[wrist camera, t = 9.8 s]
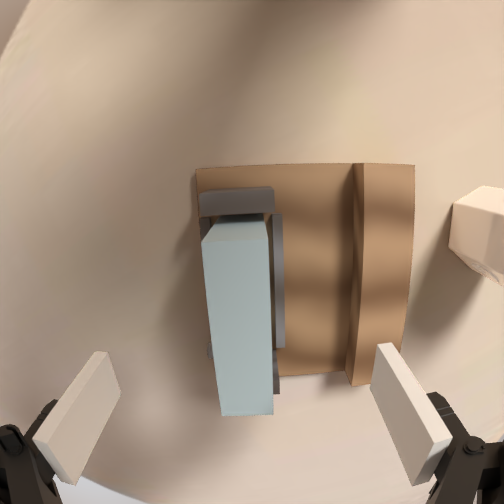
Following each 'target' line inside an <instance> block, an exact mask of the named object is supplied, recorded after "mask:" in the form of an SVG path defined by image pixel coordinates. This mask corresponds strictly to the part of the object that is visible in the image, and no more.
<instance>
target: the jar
mask: <svg viewBox="0 0 504 504" xmlns="http://www.w3.org/2000/svg"><path fill="white" fill-rule="evenodd" d="M448 247H449V249H451V250H452V251H453V252H454V253H455V254H456V255H457V256H458V257H459V258H460V259H461V260H462V261H464V262H465V263H466V264H467V265H468V266H469V267H470V268H471V269H472V270H474V271H476V272H478V273H480V274H482V275H483V276H485V277H487V278H489V279H490V280H492V281H494V282H496V283H498V284H499V285H501V286H503V287H504V189H502V188H495V187H489V186H480V187H479V188H477V189H475V190H474V191H472V192H471V193H469V194H467V195H466V196H464V197H462V198H461V199H459V200H457V201H456V202H454V204H453V212H452V221H451V229H450V237H449V244H448Z"/></svg>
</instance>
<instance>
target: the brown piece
mask: <svg viewBox="0 0 504 504" xmlns="http://www.w3.org/2000/svg"><path fill="white" fill-rule="evenodd" d="M196 183H197V197H198V211H199V224H200V236H201V242H202V240H203V239H204V238H205V236H206V235H207V233H208V232H209V231H210V229H211V228H212V226H213V225H214V224H215V222H216V221H217V219H218V218H219V217H220V216H223V215H241V214H261V213H263V217H264V222H265V226H266V231H267V236H268V248H269V274H270V303H271V334H272V370H273V394H280V384H279V376H289V375H302V374H314V373H325V372H334V371H343V370H345V372H346V374H347V377H348V379H349V381H350V384H351V386H358V385H365V384H371V379H372V374H373V368H374V362H375V356H376V350H377V344H383V343H391V342H392V344H393V345H394V347H395V348H396V349H397V351H398V352H399V354H400V349H401V343H402V337H403V331H404V325H405V318H406V311H407V303H408V295H409V286H410V276H411V265H412V253H413V237H414V212H415V165H405V164H379V163H353V164H351V163H318V164H275V165H252V166H234V167H219V168H206V169H196ZM201 247H202V246H201ZM202 258H203V257H202ZM203 269H204V268H203ZM204 279H205V278H204ZM205 289H206V288H205ZM209 325H210V324H209ZM211 342H212V341H211ZM215 373H216V372H215Z"/></svg>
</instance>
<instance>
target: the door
mask: <svg viewBox="0 0 504 504" xmlns="http://www.w3.org/2000/svg"><path fill="white" fill-rule="evenodd" d="M201 246H202V257H203V268H204V278H205V288H206V298H207V307H208V316H209V324H210V333H211V341H212V343H208V347H207V352H208V358H209V359H211V358H214V365H215V372H216V380H217V387H218V394H219V401H220V408H221V414H222V416H250V415H273V370H272V334H271V303H270V274H269V248H268V236H267V231H266V226H265V222H264V217H263V213H261V214H241V215H223V216H220V217H219V218H218V219H217V221H216V222H215V224H214V225H213V226H212V228H211V229H210V231H209V232H208V233H207V235H206V236H205V238H204V239H203V240H202V242H201Z"/></svg>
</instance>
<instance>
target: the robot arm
mask: <svg viewBox="0 0 504 504" xmlns="http://www.w3.org/2000/svg"><path fill="white" fill-rule="evenodd" d="M370 390H371V392H372V394H373V396H374V398H375V401H376V403H377V405H378V407H379V410H380V412H381V414H382V416H383V419H384V421H385V423H386V426H387V428H388V430H389V433H390V435H391V437H392V440H393V442H394V444H395V447H396V449H397V451H398V454H399V456H400V458H401V461H402V463H403V466H404V468H405V471H406V473H407V475H408V478H409V480H410V483H411V485H412V486H415V485H419V484H422V483H425V482H428V481H429V480H430V479H431V477H432V475H433V474H435V476H436V478H437V481H436V483H435V484H434V486H433V487H432V489H431V490H430V492H429V494H430V496H429V498H428V500H427V502H426V504H473V501H474V498H475V495H476V491H477V504H504V440H503V442H496V443H485V442H484V441H483V440H482V439H481V438H478V437H476V436H470V435H469V434H468V432H467V431H466V429H465V428H464V426H463V424H462V423H461V421H460V420H459V418H458V417H457V415H456V414H454V411H453V410H452V408H451V407H450V405H449V404H448V402H447V401H446V399H445V398H444V397H443V396H441V395H440V394H438V393H437V392H432V393H428V394H426V393H425V392H424V390H423V389H422V387H421V386H420V384H419V383H418V381H417V379H416V378H415V376H414V375H413V373H412V372H411V370H410V369H409V367H408V366H407V364H406V363H405V361H404V360H403V358H402V357H401V355H400V354H399V352H398V351H397V349H396V348H395V347H394V345H393V344H392V342H391V343H383V344H377V350H376V356H375V362H374V368H373V374H372V379H371V385H370ZM120 396H121V391H120V388H119V385H118V382H117V379H116V376H115V373H114V370H113V367H112V363H111V360H110V357H109V353H108V352H101V351H95V352H94V354H93V355H92V356H91V357H90V359H89V360H88V361H87V363H86V364H85V365H84V367H83V368H82V369H81V371H80V372H79V373H78V375H77V376H76V377H75V379H74V380H73V381H72V383H71V384H70V386H69V387H68V388H67V390H66V391H65V392H64V394H63V395H62V397H61V398H60V399H59V400H55V399H54V400H53V401H51V402H50V403H49V404H47V405H46V406H45V407H44V409H43V410H42V411H41V414H39V416H38V417H37V420H35V421H34V422H33V424H32V425H31V427H30V428H29V429H28V431H27V432H26V434H25V435H24V437H23V435H22V433H21V432H20V430H19V428H18V427H16V426H15V425H11V424H9V425H4V426H1V427H0V504H63V503H62V501H61V498H60V495H59V493H58V490H57V487H56V484H55V482H54V480H53V479H52V478H53V476H54V474H56V475H57V476H58V478H59V479H60V480H61V481H62V482H65V483H68V484H72V485H75V486H76V484H77V482H78V480H79V478H80V475H81V473H82V471H83V469H84V467H85V465H86V463H87V461H88V459H89V457H90V455H91V453H92V451H93V449H94V447H95V445H96V443H97V441H98V439H99V437H100V435H101V433H102V431H103V429H104V427H105V425H106V423H107V421H108V419H109V417H110V415H111V413H112V411H113V409H114V407H115V405H116V403H117V401H118V400H119V398H120Z"/></svg>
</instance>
